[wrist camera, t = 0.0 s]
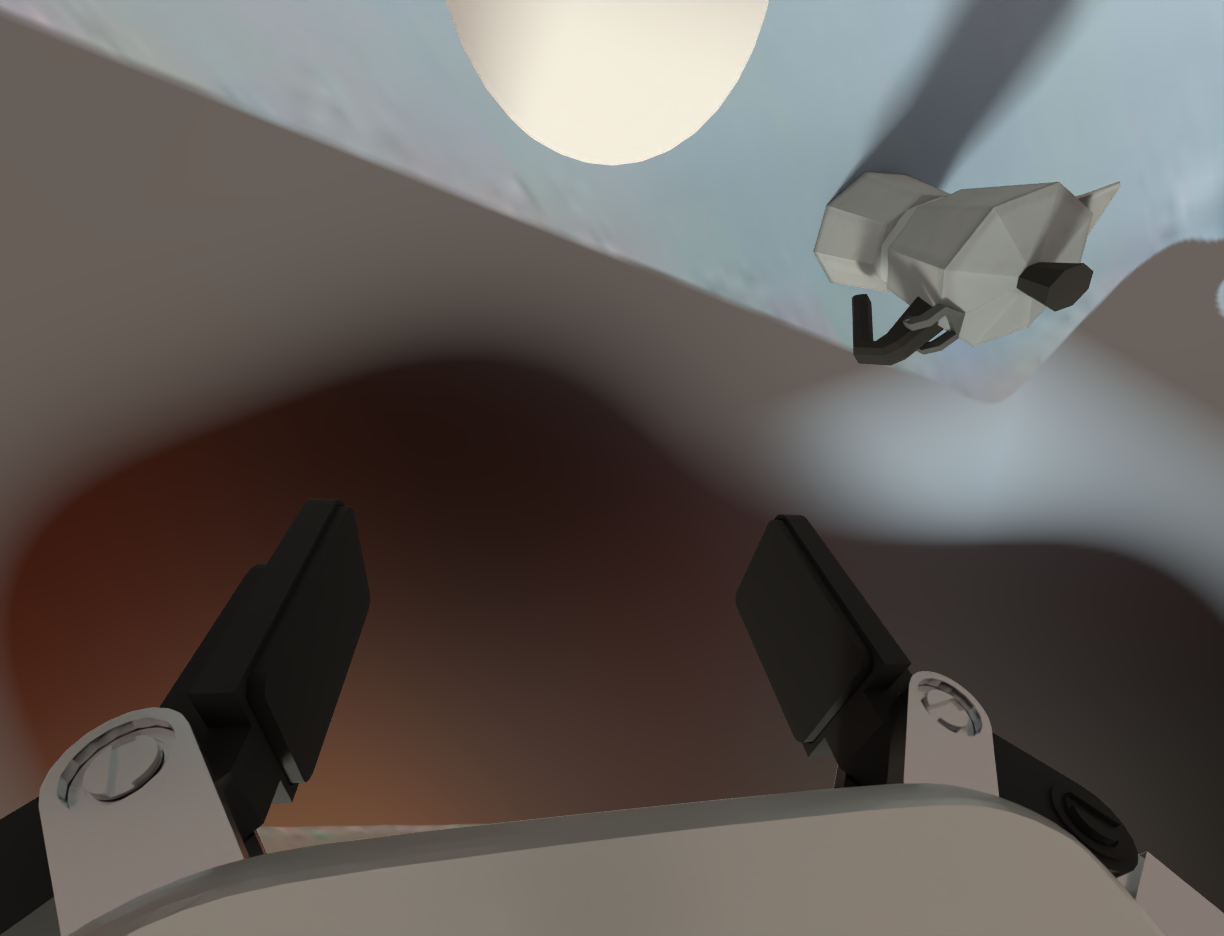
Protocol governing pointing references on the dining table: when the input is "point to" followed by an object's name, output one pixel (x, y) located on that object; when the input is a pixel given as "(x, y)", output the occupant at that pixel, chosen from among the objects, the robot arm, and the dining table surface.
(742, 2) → the cylindrical container
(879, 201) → the coffee maker
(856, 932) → the robot arm
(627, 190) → the dining table surface
